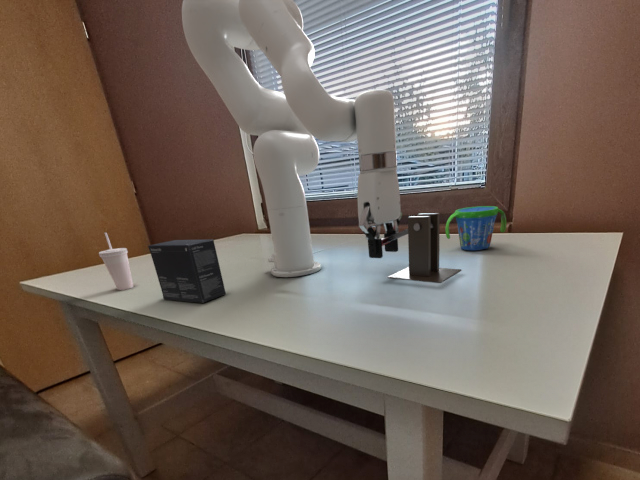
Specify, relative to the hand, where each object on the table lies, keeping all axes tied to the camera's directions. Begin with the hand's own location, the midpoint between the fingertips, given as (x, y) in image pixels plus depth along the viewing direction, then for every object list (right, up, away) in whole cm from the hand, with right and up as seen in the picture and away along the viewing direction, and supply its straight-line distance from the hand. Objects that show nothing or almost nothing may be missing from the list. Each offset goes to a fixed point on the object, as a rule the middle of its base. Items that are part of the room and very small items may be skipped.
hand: (383, 253), depth 83 cm
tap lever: (+4, +2, -5) cm, 6 cm away
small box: (-42, -10, 0) cm, 43 cm away
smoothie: (-66, -6, +15) cm, 68 cm away
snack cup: (+26, +6, +18) cm, 33 cm away
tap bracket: (+8, -6, -4) cm, 11 cm away
